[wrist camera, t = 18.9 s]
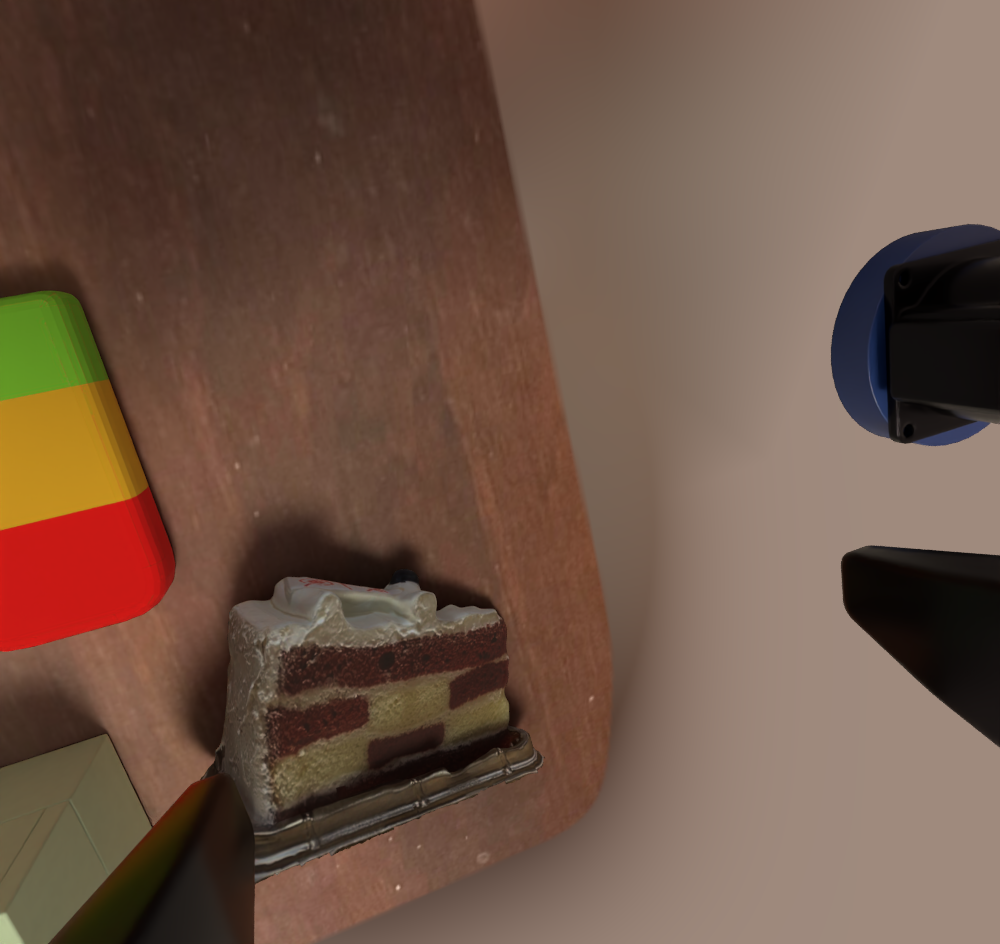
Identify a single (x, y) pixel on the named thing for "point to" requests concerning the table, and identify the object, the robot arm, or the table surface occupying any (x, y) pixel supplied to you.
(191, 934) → the robot arm
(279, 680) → the chocolate cake
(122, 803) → the open storage box
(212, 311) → the table surface
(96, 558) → the popsicle
